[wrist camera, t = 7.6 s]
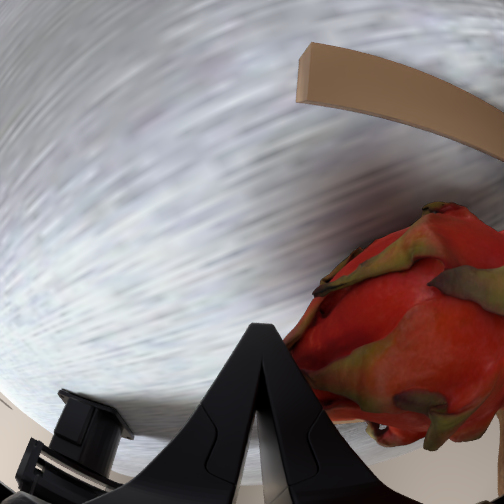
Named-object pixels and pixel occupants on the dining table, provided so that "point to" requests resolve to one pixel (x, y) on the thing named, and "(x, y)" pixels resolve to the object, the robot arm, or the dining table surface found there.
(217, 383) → the robot arm
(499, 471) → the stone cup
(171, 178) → the dining table surface
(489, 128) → the frame
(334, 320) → the dragon fruit
